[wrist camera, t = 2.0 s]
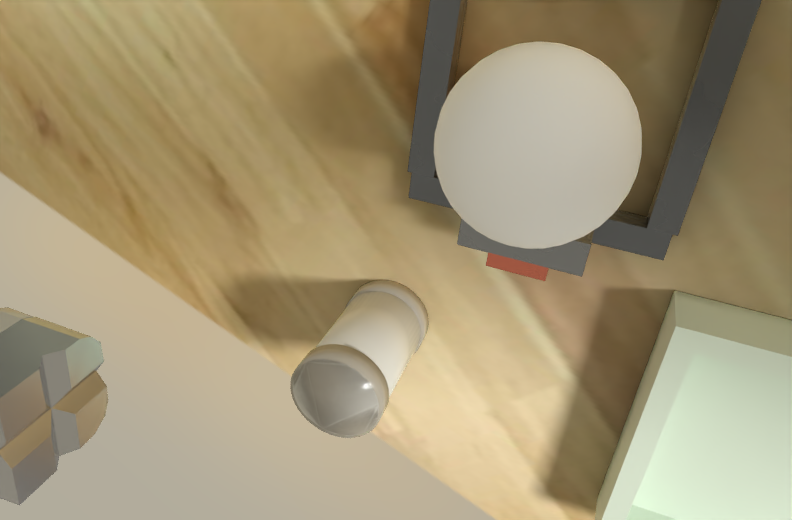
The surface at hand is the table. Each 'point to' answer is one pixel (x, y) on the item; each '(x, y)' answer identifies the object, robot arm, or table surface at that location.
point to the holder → (622, 227)
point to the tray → (708, 420)
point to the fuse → (360, 360)
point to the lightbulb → (537, 145)
